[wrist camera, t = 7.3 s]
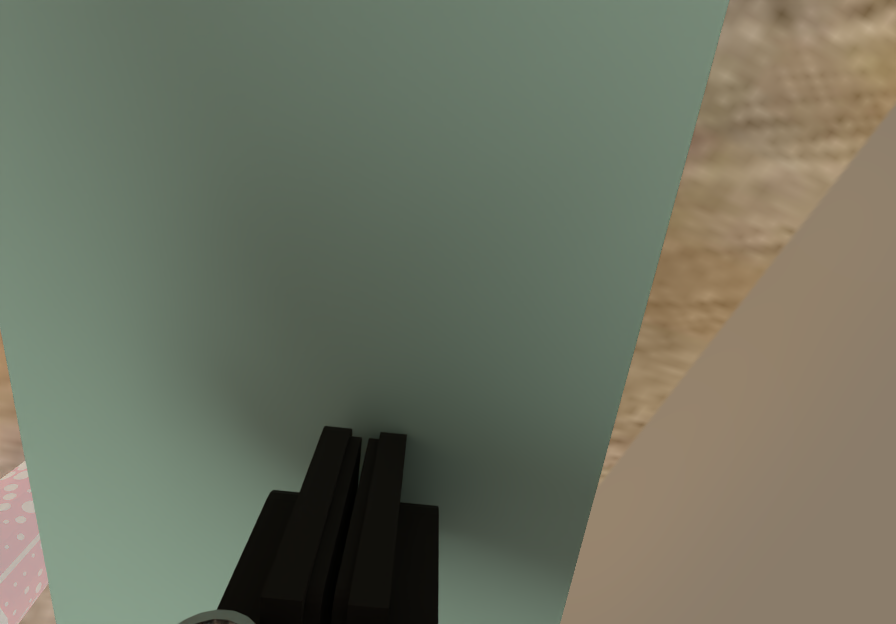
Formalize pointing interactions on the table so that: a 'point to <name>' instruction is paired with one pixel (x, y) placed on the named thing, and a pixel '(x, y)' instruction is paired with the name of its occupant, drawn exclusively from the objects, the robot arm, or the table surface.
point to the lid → (329, 271)
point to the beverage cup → (19, 548)
